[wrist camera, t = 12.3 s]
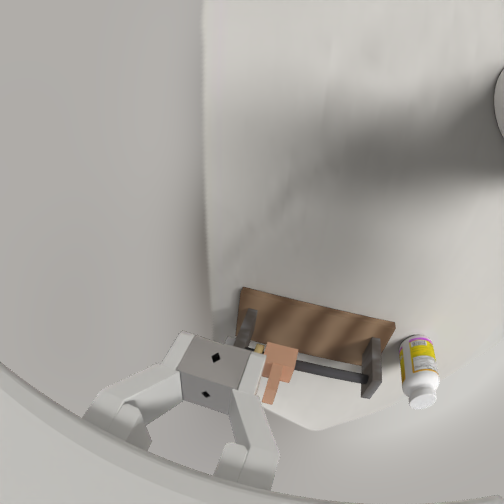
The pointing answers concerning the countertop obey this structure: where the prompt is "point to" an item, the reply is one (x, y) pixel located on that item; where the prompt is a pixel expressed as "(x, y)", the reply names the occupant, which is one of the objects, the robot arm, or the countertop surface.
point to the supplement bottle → (419, 371)
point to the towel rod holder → (314, 332)
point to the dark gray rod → (315, 367)
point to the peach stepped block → (277, 368)
